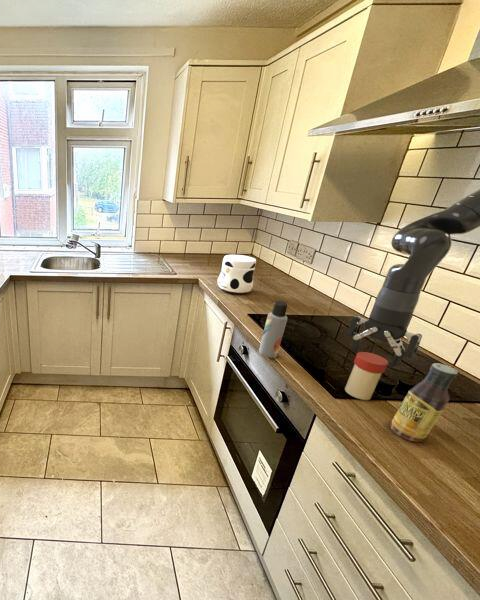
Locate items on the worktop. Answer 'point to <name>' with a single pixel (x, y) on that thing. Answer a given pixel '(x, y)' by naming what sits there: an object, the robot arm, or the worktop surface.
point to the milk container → (237, 274)
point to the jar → (362, 383)
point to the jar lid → (370, 362)
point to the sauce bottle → (424, 404)
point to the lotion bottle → (274, 330)
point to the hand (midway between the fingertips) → (372, 358)
